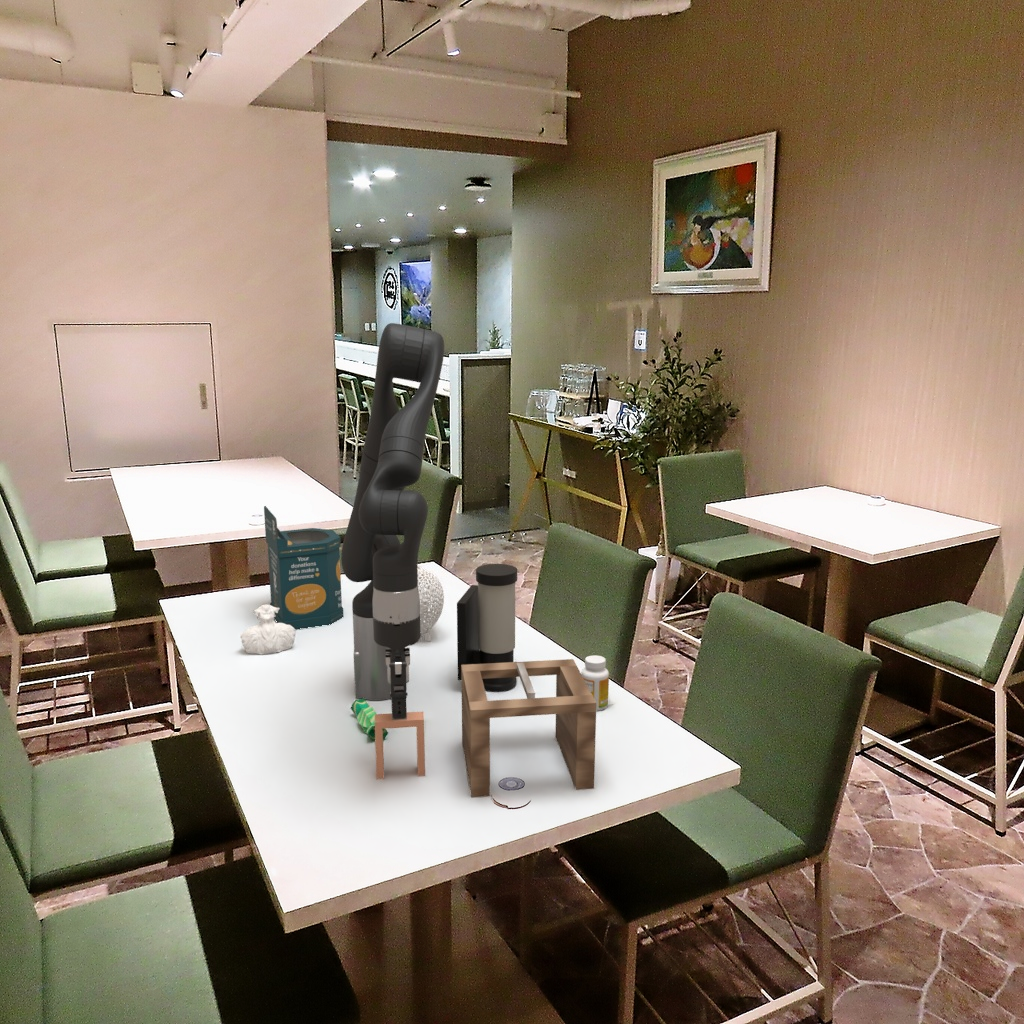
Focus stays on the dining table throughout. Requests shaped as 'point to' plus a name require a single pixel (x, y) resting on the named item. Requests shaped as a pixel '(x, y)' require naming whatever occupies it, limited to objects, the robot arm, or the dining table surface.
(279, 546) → the donation box
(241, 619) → the dining table surface
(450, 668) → the dining table surface
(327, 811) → the dining table surface
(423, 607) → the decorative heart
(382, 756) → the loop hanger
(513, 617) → the light fixture
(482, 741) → the wooden frame stand
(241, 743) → the dining table surface
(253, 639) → the bust
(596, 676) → the supplement bottle
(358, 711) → the candy
